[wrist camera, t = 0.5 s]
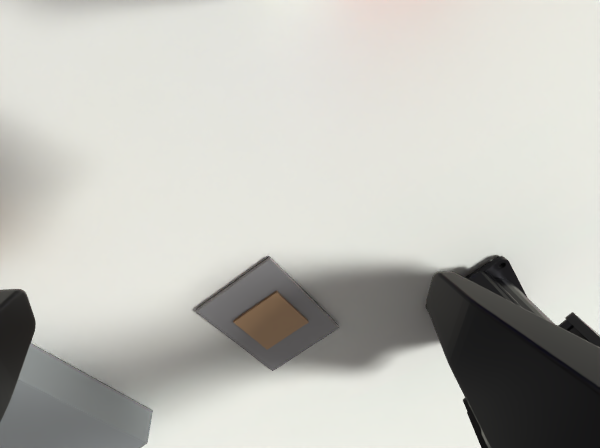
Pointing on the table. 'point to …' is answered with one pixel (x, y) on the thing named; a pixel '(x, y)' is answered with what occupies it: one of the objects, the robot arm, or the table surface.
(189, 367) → the table surface
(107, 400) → the slate slab
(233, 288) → the card
